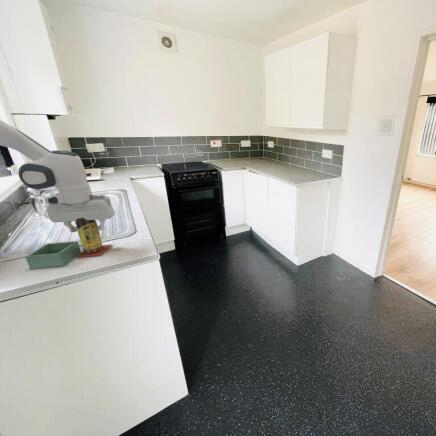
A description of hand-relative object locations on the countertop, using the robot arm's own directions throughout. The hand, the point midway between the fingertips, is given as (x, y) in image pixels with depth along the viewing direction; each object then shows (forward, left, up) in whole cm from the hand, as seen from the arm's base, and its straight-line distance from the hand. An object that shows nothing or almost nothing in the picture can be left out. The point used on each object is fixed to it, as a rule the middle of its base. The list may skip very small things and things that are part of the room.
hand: (88, 230), depth 95 cm
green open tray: (-10, -5, -9) cm, 14 cm away
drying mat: (0, 0, -9) cm, 9 cm away
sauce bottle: (0, 0, -9) cm, 9 cm away
